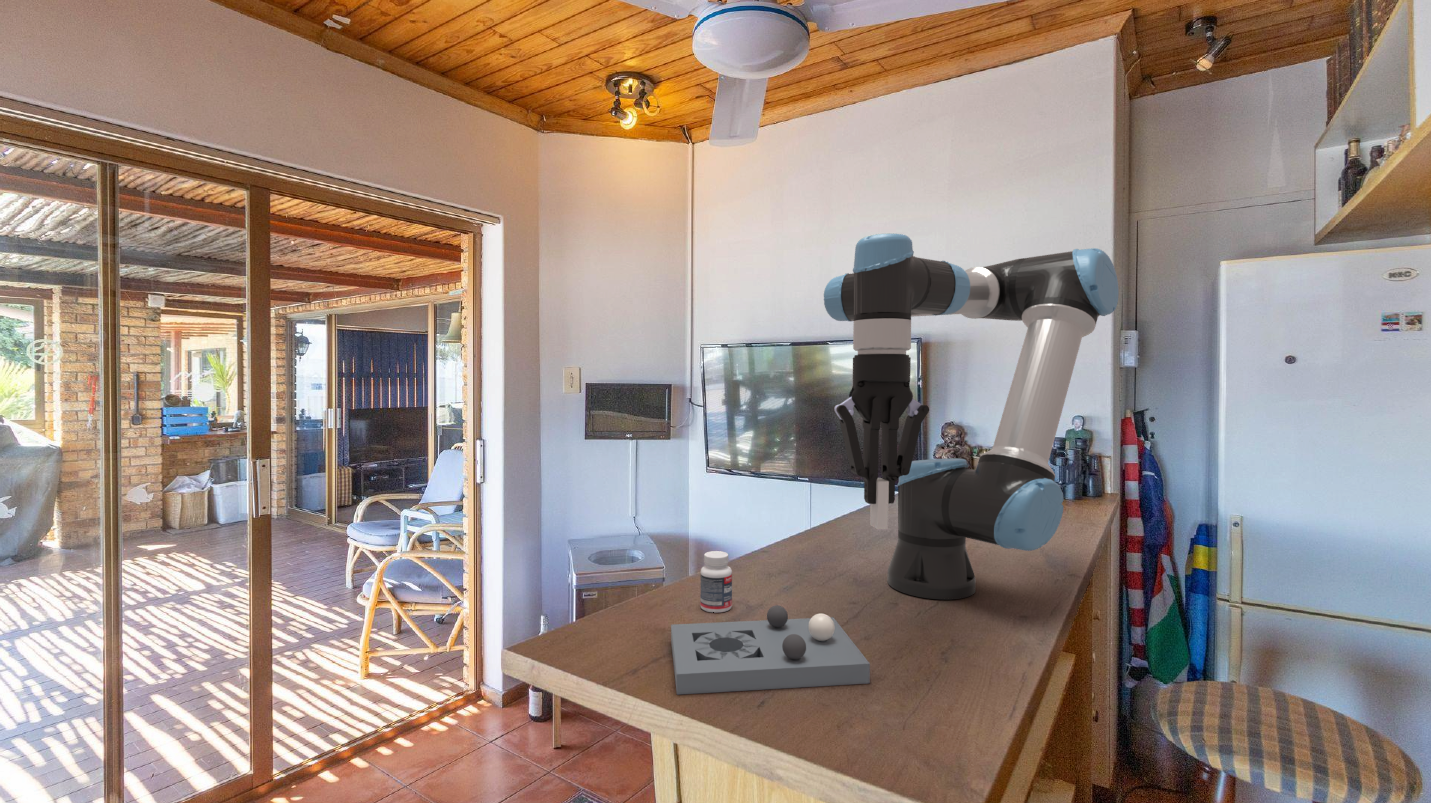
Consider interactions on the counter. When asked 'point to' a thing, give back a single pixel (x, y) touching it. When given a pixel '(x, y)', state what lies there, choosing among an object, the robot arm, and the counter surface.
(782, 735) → the counter surface
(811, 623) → the ball
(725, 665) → the plate
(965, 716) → the counter surface
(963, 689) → the counter surface
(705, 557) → the pill bottle
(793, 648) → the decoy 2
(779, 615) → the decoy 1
